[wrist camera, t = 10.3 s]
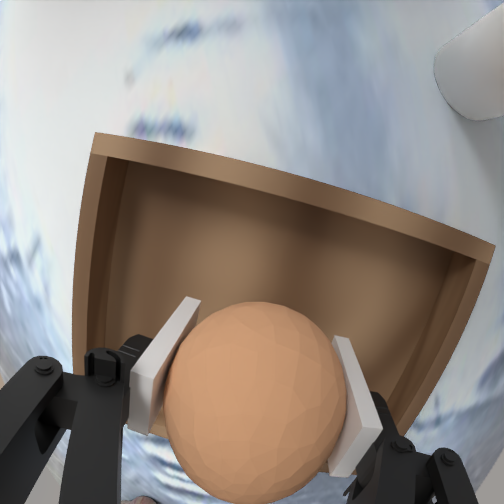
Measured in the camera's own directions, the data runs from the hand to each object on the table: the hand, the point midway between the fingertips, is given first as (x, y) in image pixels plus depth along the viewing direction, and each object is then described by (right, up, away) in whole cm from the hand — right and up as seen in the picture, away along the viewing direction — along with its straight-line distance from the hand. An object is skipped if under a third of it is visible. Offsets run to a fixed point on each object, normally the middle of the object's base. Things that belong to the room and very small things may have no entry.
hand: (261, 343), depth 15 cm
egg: (0, 0, +1) cm, 0 cm away
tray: (0, 0, +2) cm, 2 cm away
